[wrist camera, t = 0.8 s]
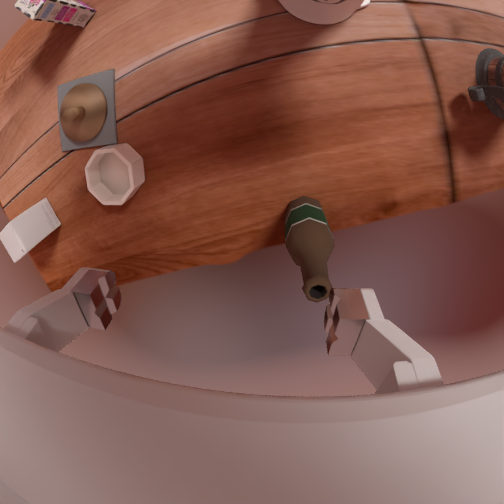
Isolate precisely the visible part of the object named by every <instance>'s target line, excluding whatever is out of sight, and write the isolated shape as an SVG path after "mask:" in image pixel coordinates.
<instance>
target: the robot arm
mask: <svg viewBox="0 0 504 504" xmlns="http://www.w3.org/2000/svg"><path fill="white" fill-rule="evenodd" d="M278 1H279V2H280V3H281V4H282V6H283V7H284V8H285V9H286V10H287V11H288V12H290V13H291V14H292V15H294V16H295V17H297V18H299V19H302V20H304V21H307V22H310V23H315V24H334V23H338V22H341V21H344V20H345V19H347V18H348V17H350V16H351V15H352V14H353V13H354V12H355V11H356V10H357V9H360V8H364V7H366V6H368V5H369V3H370V0H278ZM115 282H116V277H115V274H114V272H112V271H109V270H102V269H95V268H87V267H82V268H80V269H79V270H78V271H77V272H76V273H75V274H74V276H73V277H72V278H71V279H70V280H69V281H68V282H67V283H66V285H65V286H64V287H63V288H62V289H61V290H59V289H58V290H56V291H54V292H52V293H51V294H49V295H47V296H45V297H43V298H41V299H39V300H37V301H35V302H33V303H31V304H30V305H28V306H26V307H24V308H22V309H20V310H18V311H17V312H16V314H15V315H14V316H13V317H12V318H11V320H10V321H9V322H8V324H7V325H6V326H5V328H4V329H3V328H0V504H504V370H501V371H498V372H495V373H491V374H488V375H484V376H480V377H476V378H472V379H468V380H464V381H460V382H455V383H451V384H445V385H444V384H443V381H442V378H441V375H440V373H439V370H438V367H437V365H436V362H435V359H434V357H433V356H432V355H430V354H429V353H428V352H427V351H426V350H424V349H423V348H422V347H421V346H420V345H418V344H417V343H416V342H415V341H414V340H412V339H411V338H410V337H409V336H408V335H406V334H405V333H404V332H403V331H402V330H400V329H399V328H398V327H397V326H395V325H394V324H393V323H392V322H390V321H389V320H385V319H384V317H383V314H382V311H381V309H380V306H379V303H378V301H377V298H376V295H375V293H374V291H373V289H372V288H359V289H350V288H349V289H348V288H331V290H330V293H329V302H330V304H328V305H327V306H326V310H325V316H324V329H325V332H326V333H327V334H328V336H327V339H326V344H327V353H328V356H351V358H352V360H353V361H354V362H355V363H356V364H357V366H358V367H359V368H360V369H361V371H362V372H363V373H364V374H365V376H366V377H367V378H368V379H369V381H370V382H371V383H372V384H373V385H374V387H375V388H376V389H377V391H376V392H375V394H371V395H357V396H335V397H334V396H333V397H296V396H271V395H255V394H243V393H233V392H224V391H216V390H208V389H201V388H195V387H188V386H183V385H177V384H172V383H167V382H161V381H157V380H152V379H148V378H143V377H139V376H135V375H131V374H127V373H123V372H119V371H115V370H112V369H108V368H104V367H101V366H98V365H94V364H91V363H88V362H85V361H82V360H78V359H76V358H73V357H70V356H67V355H64V354H61V353H59V351H60V350H61V349H63V348H64V347H65V346H66V345H68V344H69V343H70V342H72V341H73V340H74V339H76V338H77V337H78V336H79V335H80V334H82V333H83V332H85V331H86V330H87V329H89V327H90V328H95V329H100V330H106V329H107V327H108V325H109V324H110V322H111V320H112V314H113V313H115V312H117V310H118V309H119V306H120V303H121V292H120V289H119V288H118V287H117V286H116V284H115Z"/></svg>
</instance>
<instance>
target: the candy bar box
mask: <svg viewBox="0 0 504 504" xmlns="http://www.w3.org/2000/svg"><path fill="white" fill-rule="evenodd" d="M15 7H16V8H17V9H19V10H20V11H21V12H23V13H24V14H25V15H27V16H28V17H29V18H31V19H32V20H39V21H47V22H54V23H61V24H67V25H73V26H78V27H83V28H84V27H85V26H86V24H87V23H88V21H89V20H90V19H91V18H92V16H93V15H94V14H95V12H96V10H94V9H93V8H91V7H89V6H88V5H86V4H84V3H83V2H81V1H79V0H18V1H17V2H16V4H15Z"/></svg>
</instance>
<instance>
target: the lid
mask: <svg viewBox="0 0 504 504" xmlns="http://www.w3.org/2000/svg"><path fill="white" fill-rule="evenodd" d="M107 112H108V106H107V100H106V97H105V94H104V92H103V91H102V90H101V89H100V88H99V87H98V86H97V85H95V84H92V83H82V84H78V85H76V86H74V87H73V88H72V89H70V90H69V92H68V93H67V94H66V96H65V97H64V99H63V102H62V104H61V109H60V122H61V126H62V129H63V131H64V133H65V134H66V135H67V137H69V138H70V139H71V140H73V141H76V142H85V141H88V140H90V139H92V138H94V137H95V136H97V135H98V134H99V133H100V131H101V130H102V128H103V126H104V124H105V121H106V118H107Z"/></svg>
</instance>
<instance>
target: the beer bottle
mask: <svg viewBox="0 0 504 504" xmlns="http://www.w3.org/2000/svg"><path fill="white" fill-rule="evenodd" d="M285 243H286V248H287V250H288V251H289V253H290V255H291V257H292V259H293V261H294V262H295V263H296V265H298V266H300V267H301V272H302V276H303V282H304V285H303V287H302V289H303V291H304V293H305V295H306V297H307V299H308V300H311V301H314V302H319V301H322V300H325V299H327V298H328V296H329V293H330V290H331V288H332V285H331V283H330V281H329V278H328V269H327V260H328V259H329V257H330V255H331V253H332V251H333V248H334V240H333V237H332V234H331V231H330V228H329V225H328V222H327V219H326V216H325V214H324V212H323V210H322V208H321V205H320V203H319V201H317V200H314V199H312V198H309V197H306V196H303V197H300V198H298V199H296V200H294V201H291V202H290V204H289V207H288V209H287V212H286V215H285Z"/></svg>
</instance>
